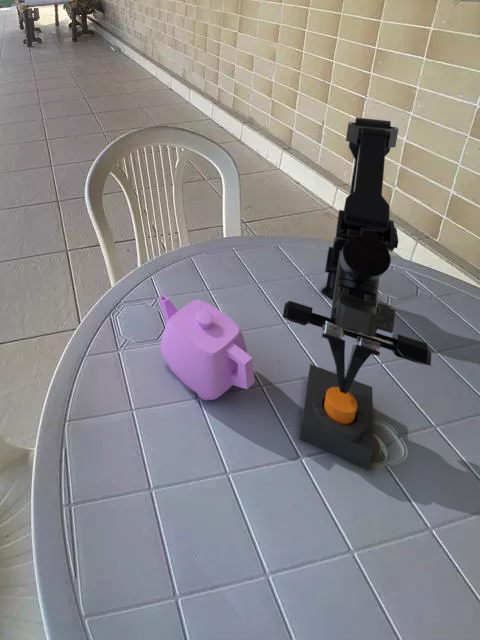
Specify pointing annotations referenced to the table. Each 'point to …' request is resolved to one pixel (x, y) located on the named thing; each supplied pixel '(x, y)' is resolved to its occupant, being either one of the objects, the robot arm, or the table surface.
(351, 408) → the round orange button
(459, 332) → the table surface
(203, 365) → the teapot
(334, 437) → the button base
